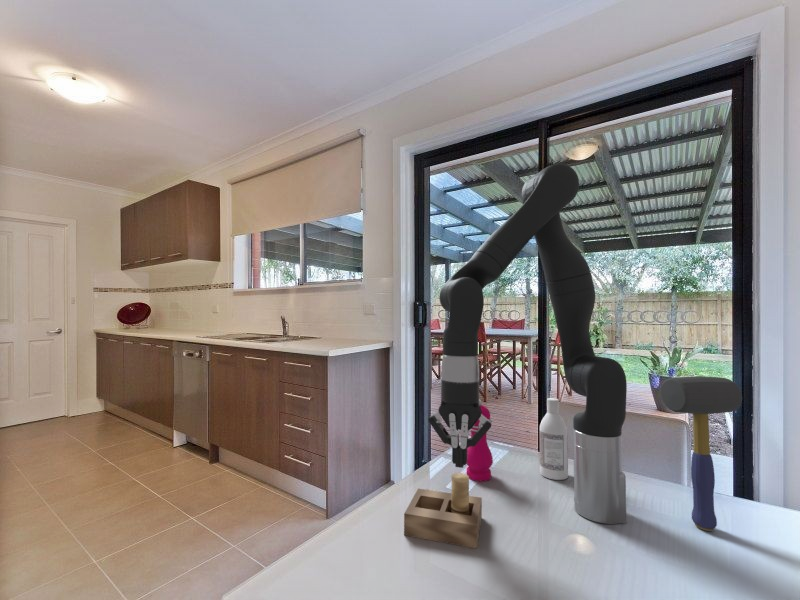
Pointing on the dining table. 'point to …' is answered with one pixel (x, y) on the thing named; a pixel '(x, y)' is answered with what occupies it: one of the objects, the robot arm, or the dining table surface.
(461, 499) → the peg
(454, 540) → the board
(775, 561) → the dining table surface
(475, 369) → the robot arm
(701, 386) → the rubber mallet
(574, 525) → the dining table surface
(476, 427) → the pepper mill
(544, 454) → the bath foam
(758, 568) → the dining table surface
